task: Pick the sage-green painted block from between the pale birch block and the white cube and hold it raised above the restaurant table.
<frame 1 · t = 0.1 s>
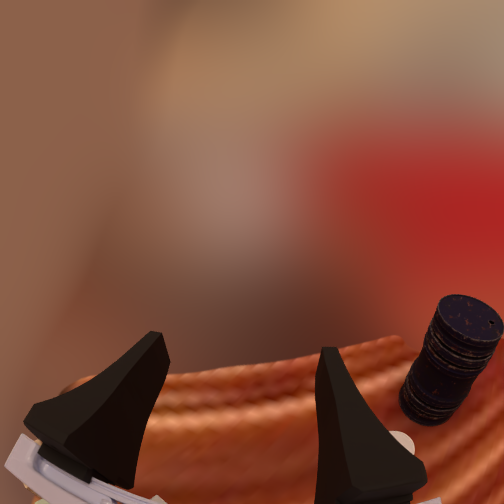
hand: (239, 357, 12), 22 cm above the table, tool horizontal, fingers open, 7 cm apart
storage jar: (427, 401, 30), on the table
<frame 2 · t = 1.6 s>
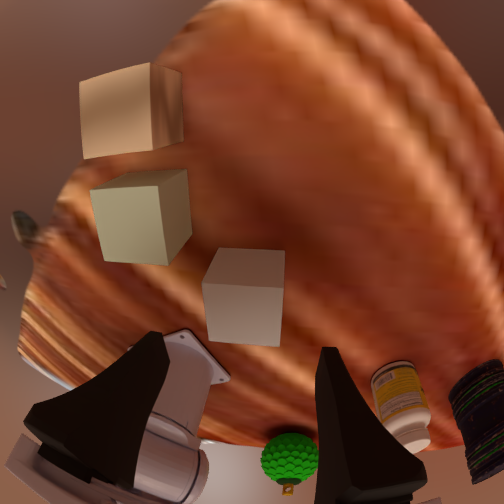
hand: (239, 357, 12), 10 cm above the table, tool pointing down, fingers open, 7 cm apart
supplement bottle: (392, 373, 26), on the table
birch block: (150, 110, 17), on the table
ornament: (291, 433, 34), on the table
sage block: (159, 202, 20), on the table
white cube: (251, 276, 22), on the table
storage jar: (475, 381, 27), on the table
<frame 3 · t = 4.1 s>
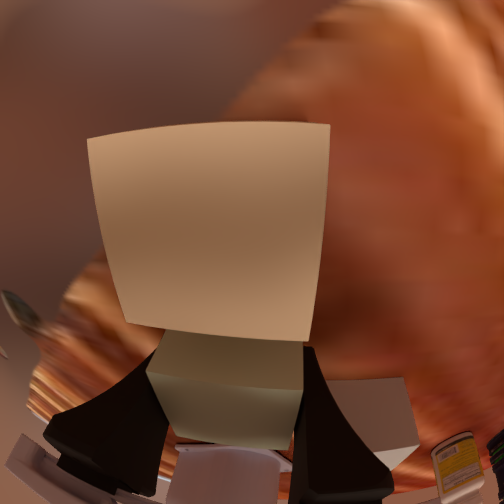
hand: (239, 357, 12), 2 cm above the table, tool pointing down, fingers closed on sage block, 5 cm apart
supplement bottle: (451, 441, 19), on the table
birch block: (238, 187, 10), on the table
sage block: (244, 333, 13), on the table, touching gripper
white cube: (355, 400, 15), on the table
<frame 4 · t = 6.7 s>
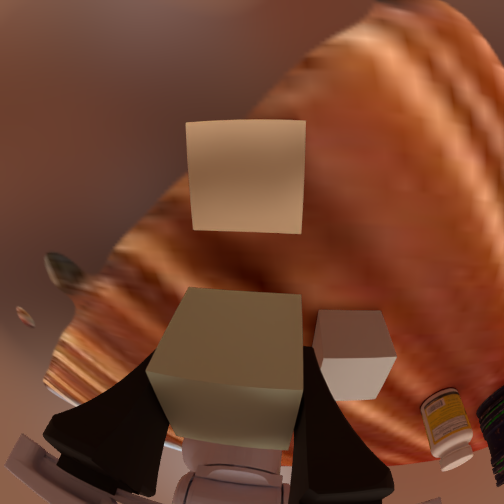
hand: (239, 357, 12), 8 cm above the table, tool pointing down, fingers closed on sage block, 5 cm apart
supplement bottle: (438, 398, 25), on the table
birch block: (257, 160, 16), on the table
sage block: (244, 332, 13), point 7 cm above the table, touching gripper
white cube: (344, 333, 21), on the table
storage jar: (499, 397, 26), on the table
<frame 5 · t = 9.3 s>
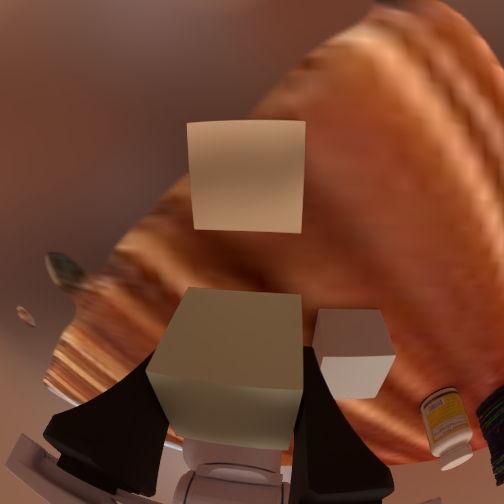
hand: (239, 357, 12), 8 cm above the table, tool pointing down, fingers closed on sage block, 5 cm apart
supplement bottle: (438, 397, 25), on the table
birch block: (257, 160, 16), on the table
sage block: (244, 332, 13), point 7 cm above the table, touching gripper
white cube: (344, 332, 21), on the table
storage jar: (499, 397, 26), on the table
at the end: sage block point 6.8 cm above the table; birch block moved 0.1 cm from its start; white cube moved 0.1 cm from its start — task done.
